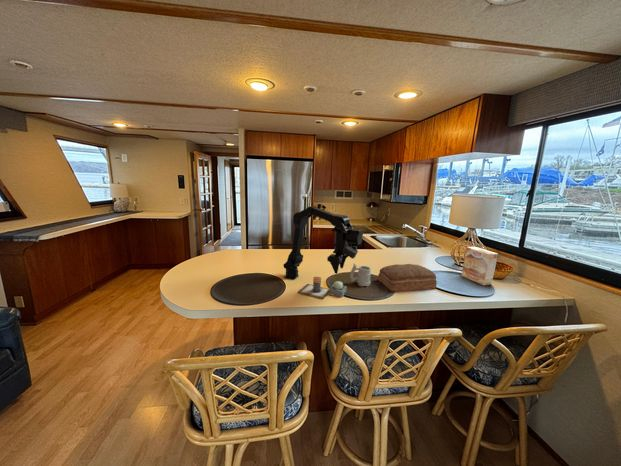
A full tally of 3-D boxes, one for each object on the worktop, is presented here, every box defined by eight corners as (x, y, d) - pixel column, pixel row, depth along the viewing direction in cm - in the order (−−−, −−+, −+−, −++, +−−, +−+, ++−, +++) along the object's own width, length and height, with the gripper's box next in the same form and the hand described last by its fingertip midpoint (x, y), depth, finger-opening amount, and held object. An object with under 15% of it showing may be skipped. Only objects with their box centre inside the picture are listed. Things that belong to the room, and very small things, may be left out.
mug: (371, 287, 134) (373, 267, 131) (349, 286, 134) (351, 265, 132) (368, 281, 141) (370, 262, 139) (348, 280, 142) (350, 261, 139)
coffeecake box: (460, 275, 156) (466, 246, 152) (469, 274, 158) (474, 246, 154) (483, 285, 142) (490, 253, 138) (492, 284, 145) (498, 253, 140)
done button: (332, 290, 125) (333, 283, 124) (335, 287, 128) (336, 280, 128) (340, 292, 123) (341, 285, 122) (343, 289, 127) (343, 282, 126)
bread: (375, 279, 145) (377, 261, 142) (418, 277, 151) (421, 260, 149) (391, 292, 129) (393, 272, 126) (438, 289, 135) (441, 270, 133)
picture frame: (297, 292, 124) (297, 291, 124) (307, 284, 134) (307, 283, 134) (322, 299, 118) (322, 297, 118) (331, 290, 128) (331, 289, 128)
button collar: (329, 293, 124) (329, 288, 124) (333, 288, 130) (334, 283, 130) (342, 297, 121) (342, 291, 121) (346, 291, 127) (346, 286, 127)
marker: (311, 291, 125) (312, 278, 123) (314, 288, 128) (315, 275, 127) (318, 293, 123) (319, 280, 121) (321, 290, 126) (322, 277, 125)
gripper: (350, 247, 108) (348, 280, 111) (361, 239, 124) (359, 268, 128) (327, 244, 113) (326, 275, 116) (341, 236, 129) (339, 264, 132)
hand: (339, 270), depth 123 cm, fingers open, 8 cm apart
